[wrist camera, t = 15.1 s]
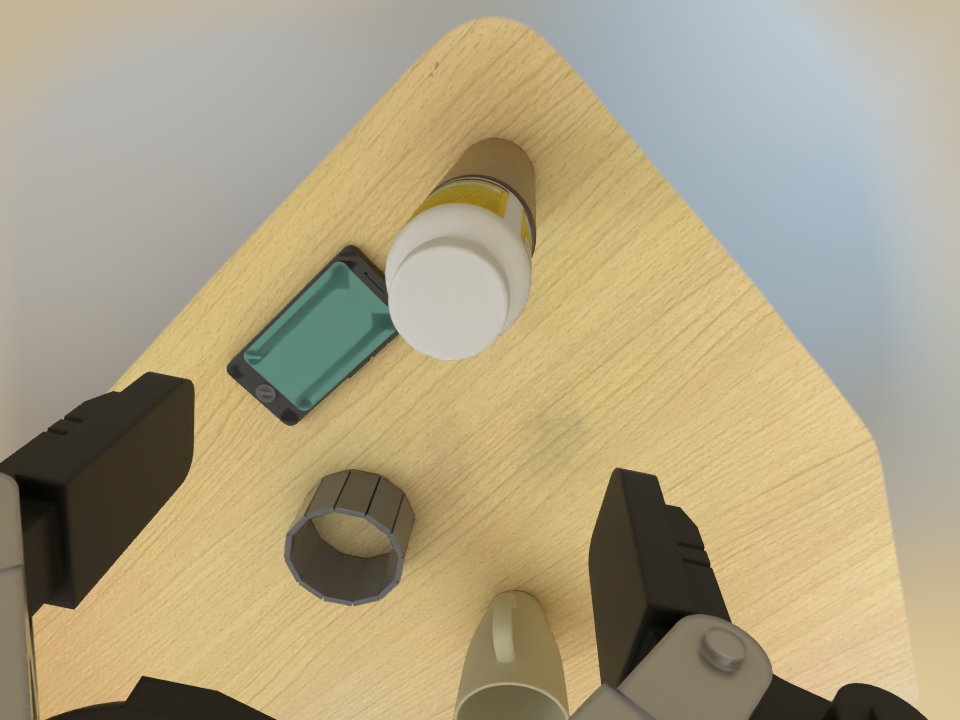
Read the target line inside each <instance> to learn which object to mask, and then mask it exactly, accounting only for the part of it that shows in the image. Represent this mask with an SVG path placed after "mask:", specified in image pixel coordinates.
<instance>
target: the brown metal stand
mask: <svg viewBox="0 0 960 720" xmlns="http://www.w3.org/2000/svg"><path fill="white" fill-rule="evenodd" d="M467 177H476V178H483V179H487V180H490V181H493V182H496V183H498V184H500V185H502V186H503V187H505V188H506V189H508V190H509V191H510V192H511V193H513V194H514V196H515V197H516V198H517V199H518V200H519V201H520V203H521V204H522V206H523V208H524V209H525V211H526V213H527V216H528V219H529V222H530V226H531V233H532V257H533V253H534V250H535V244H536V201H535V173H534V168H533V165H532V162H531V160H530V158H529V157H528V155H527V154H526V153H525V152H524V150H523V149H522V148H520V147H519V146H518V145H516V144H515V143H513V142H511V141H508V140H505V139H499V138H491V139H485V140H482V141H480V142H477V143H476V144H474V145H472V146H471V147H470V148H469V149H468V150H467V151H466V152H465V153H464V154H463V155H462V156H461V158H460V159H459V160H458V161H457V162H456V164H455V165H454V166H453V167H452V168H451V169H450V171H449V172H448V173H447V174H446V175H445V177H444V178H443V179H442V180H441V181H440V182H439V184H438V185H437V186H436V187H435V188H434V190H433V191H435V190H436V189H437V188H439V187H440V186H442V185H444V184H446V183H448V182H450V181H453V180H456V179H460V178H467ZM433 191H432V192H433ZM432 192H431V193H432ZM431 193H430V194H431ZM430 194H429V195H430ZM429 195H428V196H429Z"/></svg>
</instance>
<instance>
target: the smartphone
mask: <svg viewBox="0 0 960 720" xmlns="http://www.w3.org/2000/svg"><path fill="white" fill-rule="evenodd" d="M388 297H389V296H388V292H387V288H386V280H385V275H384V274H383V273H382V272H381V271H380V270H379V269H378V268H377V267H376V266H375V265H374V264H373V263H372V262H371V261H370V260H369V259H368V258H367V257H366V256H365V255H364V254H363V253H362V252H361V251H360V250H359V249H358V248H357V247H354V246H346V247H345V248H344V249H343V250H342V251H341V252H340V253H339V254H338V255H337V256H336V257H335V258H334V259H333V260H332V261H331V262H330V263H329V264H328V265H327V266H326V267H325V268H324V269H323V270H322V271H321V272H320V273H319V274H318V275H317V276H316V277H315V278H314V279H313V280H312V281H311V282H310V283H309V284H308V285H307V286H306V287H305V288H304V289H303V290H302V291H301V292H300V293H299V294H298V295H297V296H296V297H295V298H294V299H293V300H292V301H291V302H290V303H289V304H288V305H287V306H286V307H285V308H284V309H283V310H282V311H281V312H280V313H279V314H278V315H277V316H276V317H275V318H274V319H273V320H272V321H271V322H270V323H269V324H268V325H267V326H266V327H265V328H264V329H263V330H262V331H261V332H260V333H259V334H258V335H257V336H256V337H255V338H254V339H253V340H252V341H251V342H250V343H249V344H248V345H247V346H246V347H245V348H244V349H243V350H242V351H241V352H240V353H239V354H238V355H237V356H236V357H235V358H234V359H233V360H232V361H231V362H230V363H229V364H228V365H227V372H228V374H229V375H230V376H231V377H232V378H233V379H235V380H236V381H237V382H238V383H239V384H240V385H241V386H243V387H244V388H245V389H246V390H247V391H248V392H249V393H250V394H252V395H253V396H254V397H255V398H256V399H257V400H258V401H259V402H261V403H262V404H263V405H264V406H265V407H266V408H267V409H269V410H270V411H271V412H272V413H273V414H274V415H275V416H276V417H278V418H279V419H280V420H281V421H282V422H283V423H284V424H286V425H288V426H293V425H295V424H297V423H298V422H299V421H300V420H301V419H302V418H303V417H304V416H305V415H306V414H308V413H309V412H310V411H311V410H312V409H313V408H314V407H315V406H316V405H318V404H319V403H320V402H321V401H322V400H323V399H324V398H325V397H326V396H327V395H329V394H330V393H331V392H332V391H333V390H334V389H335V388H336V387H337V386H339V385H340V384H341V383H342V382H343V381H344V380H345V379H346V378H350V377H352V376H353V375H354V374H355V373H356V372H357V371H358V370H359V369H360V368H362V367H363V366H364V365H365V364H366V363H367V362H368V361H369V360H370V357H371V356H375V355H376V354H377V353H378V352H379V351H380V350H381V349H383V348H384V347H385V346H386V345H387V343H389V342H390V341H391V340H393V339H394V338H395V337H396V336H397V335H398V334H399V333H398V331H397V329H396V328H395V326H394V324H393V321H392V319H391V316H390V311H389V305H388Z"/></svg>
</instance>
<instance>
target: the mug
mask: <svg viewBox="0 0 960 720" xmlns="http://www.w3.org/2000/svg"><path fill="white" fill-rule="evenodd" d="M569 718H570V715H569V708H568V700H567V693H566V685H565V678H564V671H563V665H562V660H561V655H560V652H559V648H558V645H557V642H556V640H555V637H554V635H553V633H552V631H551V628H550V626H549V624H548V622H547V620H546V617H545V615H544V613H543V611H542V609H541V606H540V604H539V603H538V601H537V600H536V599H535V598H534V597H533V596H531V595H529V594H527V593H525V592H521V591H508V592H504V593H500V594H498V595H497V596H496V597H495V598H494V599H493V601H492V602H491V604H490V606H489V607H488V609H487V611H486V613H485V615H484V617H483V618H482V620H481V622H480V624H479V626H478V628H477V630H476V631H475V633H474V635H473V638H472V640H471V642H470V645H469V648H468V651H467V654H466V658H465V662H464V666H463V671H462V676H461V681H460V686H459V691H458V696H457V701H456V706H455V711H454V717H453V720H568V719H569Z"/></svg>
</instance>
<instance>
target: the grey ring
mask: <svg viewBox="0 0 960 720" xmlns="http://www.w3.org/2000/svg"><path fill="white" fill-rule="evenodd" d="M379 477H380V475H377V474H372V473H367V472H363V471H358V470H352V472H351V470H346V471H343V472H339V473H335V474H332V475H328V476H325V478H324V477H323V478H322V479H321V480H320V481H319V482H318V483H317V485H316V486H315V487H314V488H313V489H312V490H311V491H310V492H309V493H308V495H307V496H306V498H305V500H304V502H303V504H302V506H301V508H300V510H299V511H298V513H297V515H296V517H295V519H294V521H293V523H292V525H291V526H290V528H289V530H288V532H287V534H286V542H285V552H284V558H285V562H286V564H287V565H288V567H289V569H290V571H291V573H292V575H293V576H294V578H295V580H296V582H299V585H301V586H302V587H304V588H305V589H307V590H308V591H309V592H311V593H312V594H314V595H315V596H317V597H318V598H320V599H322V598H323V597H324V601H328V602H333V603H338V604H343V605H348V606H352V604H353V606H357V605H361V604H366V603H370V602H374V601H379V600H380V599H382V598H384V597H385V596H386V595H387V594H388V593H389V592H390V591H391V590H392V589H393V588H394V587H395V586H397V585H398V584H399V581H400V580H401V576H402V573H403V569H404V565H405V561H406V557H407V553H408V550H409V546H410V542H411V538H412V532H413V527H414V522H415V518H414V517H415V515H414V513H413V511H412V508H411V506H410V504H409V502H408V500H407V497H406V495H405V494H403V491H401V490H400V489H399V488H397V487H396V486H395V485H393V484H392V483H391V482H389V481H388V480H387V479H385V478H384V477H383V476H381V477H380V478H379ZM333 512H337V513H342V514H347V515H352V516H357V517H362V518H365V519H366V520H368V521H369V522H370V523H372V524H373V525H375V526H376V527H377V528H379V529H380V530H381V531H383V532H384V533H386V534H387V535H388V537H389V539H390V541H391V543H392V545H393V547H394V550H393V551H392V552H391V553H388V554H384V555H380V556H376V557H372V558H367V559H365V558H360V557H355V556H350V555H346V554H341V553H340V552H338V551H337V550H335V549H334V548H333V547H331V546H330V545H328V544H327V543H326V542H324V541H323V540H321V539H320V537H319V535H318V533H317V531H316V529H315V527H314V525H313V523H312V521H311V520H310V518H314V517H318V516H321V515H325V514H329V513H333Z"/></svg>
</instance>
